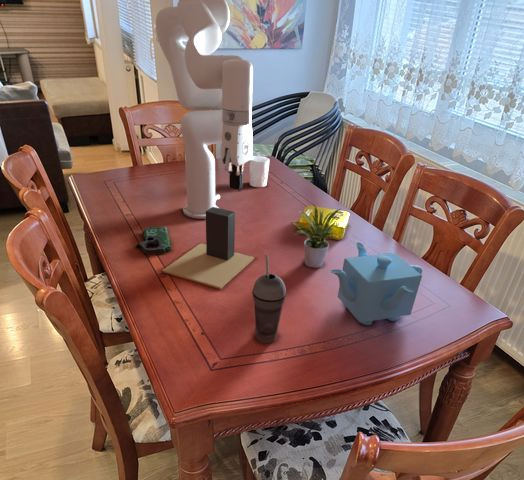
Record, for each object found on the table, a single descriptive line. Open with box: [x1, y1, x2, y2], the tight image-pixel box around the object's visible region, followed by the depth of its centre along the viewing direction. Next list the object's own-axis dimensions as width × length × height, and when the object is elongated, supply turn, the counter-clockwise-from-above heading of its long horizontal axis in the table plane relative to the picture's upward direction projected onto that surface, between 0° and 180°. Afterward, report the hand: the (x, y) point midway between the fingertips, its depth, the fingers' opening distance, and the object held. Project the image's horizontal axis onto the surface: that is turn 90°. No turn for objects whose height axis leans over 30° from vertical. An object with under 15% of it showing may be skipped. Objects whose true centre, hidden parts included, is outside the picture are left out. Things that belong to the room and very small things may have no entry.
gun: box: [135, 225, 172, 255], centre depth 140 cm, size 16×2×10 cm
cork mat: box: [162, 242, 255, 290], centre depth 131 cm, size 20×18×1 cm
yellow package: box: [297, 205, 350, 241], centre depth 154 cm, size 15×15×5 cm
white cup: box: [248, 155, 270, 188], centre depth 184 cm, size 8×8×10 cm
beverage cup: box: [251, 253, 287, 344], centre depth 99 cm, size 7×7×20 cm
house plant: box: [290, 204, 342, 269], centre depth 131 cm, size 14×14×16 cm
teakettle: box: [329, 242, 423, 326], centre depth 112 cm, size 19×19×15 cm
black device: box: [205, 207, 236, 261], centre depth 131 cm, size 4×7×13 cm, turn 65°
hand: (235, 188), depth 130 cm, fingers closed
